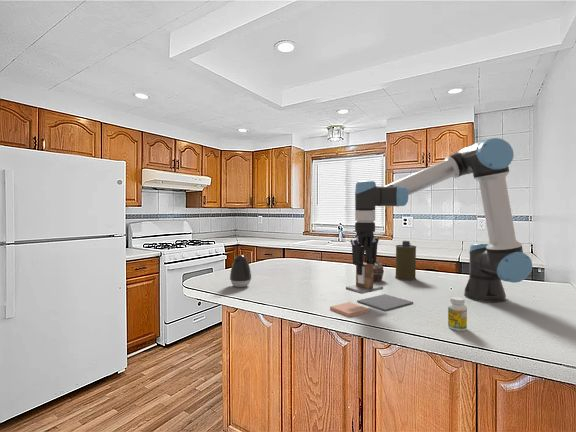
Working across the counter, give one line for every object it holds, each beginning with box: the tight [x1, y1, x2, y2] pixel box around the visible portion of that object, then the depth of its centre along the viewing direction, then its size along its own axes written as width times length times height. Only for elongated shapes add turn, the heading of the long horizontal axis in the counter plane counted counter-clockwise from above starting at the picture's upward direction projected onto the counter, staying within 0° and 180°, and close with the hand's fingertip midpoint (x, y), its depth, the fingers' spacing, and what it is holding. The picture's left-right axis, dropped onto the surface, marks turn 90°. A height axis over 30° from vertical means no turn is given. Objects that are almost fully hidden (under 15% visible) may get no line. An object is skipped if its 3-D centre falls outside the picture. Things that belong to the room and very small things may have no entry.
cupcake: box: [373, 261, 385, 283], centre depth 172 cm, size 10×10×10 cm
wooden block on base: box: [345, 262, 384, 295], centre depth 127 cm, size 12×8×10 cm, turn 125°
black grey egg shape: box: [229, 254, 252, 288], centre depth 159 cm, size 10×10×15 cm
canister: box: [394, 240, 417, 281], centre depth 177 cm, size 11×10×20 cm
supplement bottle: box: [447, 296, 468, 332], centre depth 106 cm, size 5×5×10 cm
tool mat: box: [357, 293, 414, 312], centre depth 133 cm, size 14×17×1 cm
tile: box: [329, 301, 370, 318], centre depth 123 cm, size 10×2×10 cm
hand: (364, 282), depth 127 cm, fingers closed on wooden block on base, 3 cm apart
